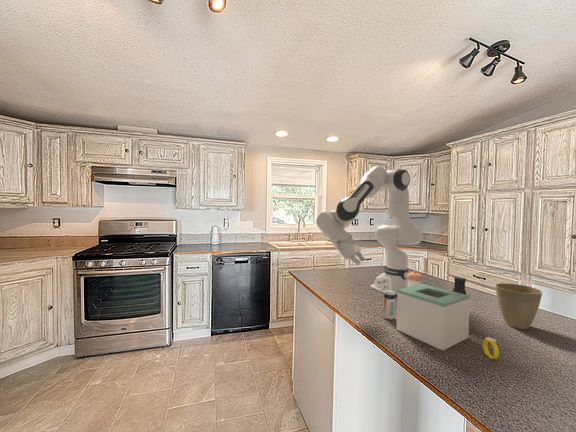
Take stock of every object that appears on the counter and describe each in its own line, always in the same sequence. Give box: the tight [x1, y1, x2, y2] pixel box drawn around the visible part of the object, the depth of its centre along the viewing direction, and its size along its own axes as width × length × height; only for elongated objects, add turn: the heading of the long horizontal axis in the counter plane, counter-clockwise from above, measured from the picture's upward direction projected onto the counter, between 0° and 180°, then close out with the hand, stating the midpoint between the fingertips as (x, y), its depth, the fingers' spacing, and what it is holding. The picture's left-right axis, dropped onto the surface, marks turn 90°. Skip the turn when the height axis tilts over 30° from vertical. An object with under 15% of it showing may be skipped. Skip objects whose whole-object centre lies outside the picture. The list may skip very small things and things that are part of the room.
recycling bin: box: [396, 283, 471, 351], centre depth 101 cm, size 18×18×16 cm
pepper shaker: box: [407, 270, 424, 287], centre depth 124 cm, size 7×7×19 cm
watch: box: [482, 336, 500, 360], centre depth 86 cm, size 6×3×6 cm, turn 173°
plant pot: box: [494, 282, 543, 330], centre depth 110 cm, size 15×15×16 cm
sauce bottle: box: [451, 276, 468, 295], centre depth 110 cm, size 7×6×20 cm
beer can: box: [382, 290, 396, 320], centre depth 116 cm, size 5×5×12 cm
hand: (361, 262), depth 121 cm, fingers open, 8 cm apart
